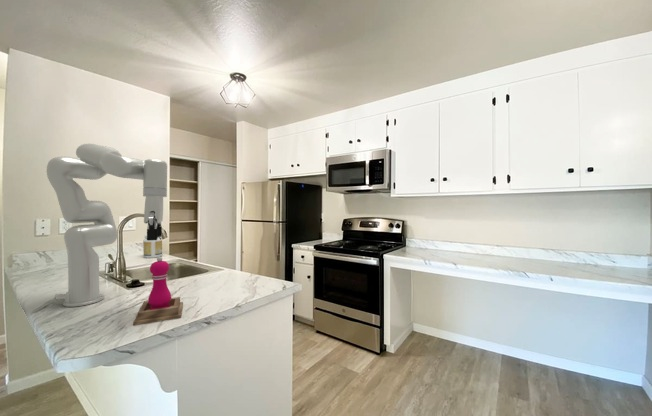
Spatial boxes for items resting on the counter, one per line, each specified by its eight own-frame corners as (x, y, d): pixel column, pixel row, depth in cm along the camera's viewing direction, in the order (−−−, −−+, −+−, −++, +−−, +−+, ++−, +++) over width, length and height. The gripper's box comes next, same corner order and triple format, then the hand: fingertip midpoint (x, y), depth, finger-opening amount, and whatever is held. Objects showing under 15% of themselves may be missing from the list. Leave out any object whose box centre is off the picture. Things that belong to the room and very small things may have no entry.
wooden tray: (133, 325, 89) (133, 314, 89) (141, 310, 101) (141, 301, 101) (181, 317, 95) (180, 307, 95) (183, 304, 107) (183, 295, 107)
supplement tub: (161, 254, 213) (160, 233, 213) (163, 257, 204) (163, 234, 204) (142, 256, 206) (142, 234, 205) (144, 259, 196) (144, 236, 196)
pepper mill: (160, 315, 94) (160, 259, 94) (143, 314, 95) (142, 258, 95) (175, 308, 101) (175, 255, 101) (159, 306, 102) (159, 254, 102)
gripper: (147, 193, 107) (147, 235, 107) (138, 192, 91) (137, 242, 91) (169, 193, 110) (168, 235, 110) (163, 193, 94) (162, 241, 95)
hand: (154, 238), depth 101 cm, fingers open, 9 cm apart
